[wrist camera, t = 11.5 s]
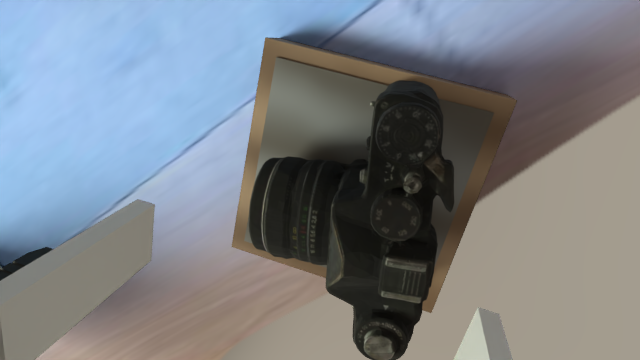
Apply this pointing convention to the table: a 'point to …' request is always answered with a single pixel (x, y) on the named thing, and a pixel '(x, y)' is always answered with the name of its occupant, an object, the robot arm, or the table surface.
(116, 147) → the table surface
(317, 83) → the stand
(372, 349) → the camera
